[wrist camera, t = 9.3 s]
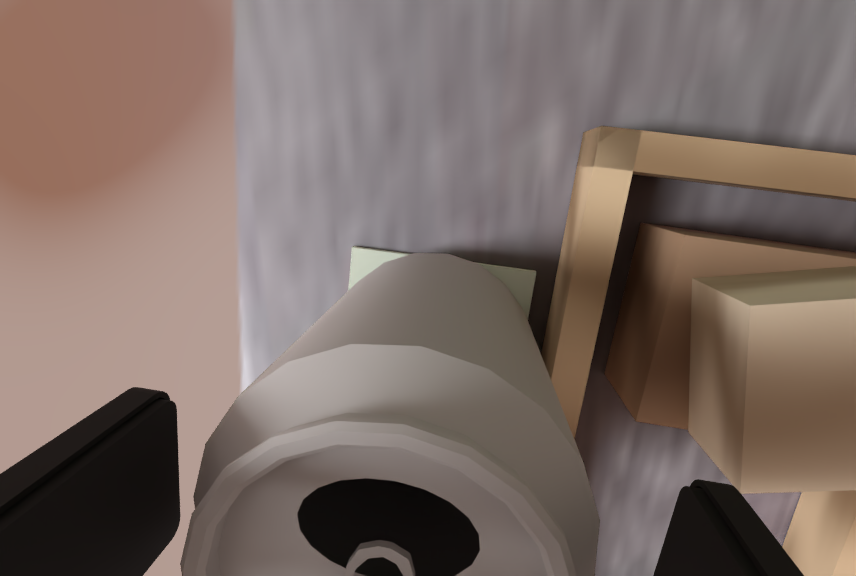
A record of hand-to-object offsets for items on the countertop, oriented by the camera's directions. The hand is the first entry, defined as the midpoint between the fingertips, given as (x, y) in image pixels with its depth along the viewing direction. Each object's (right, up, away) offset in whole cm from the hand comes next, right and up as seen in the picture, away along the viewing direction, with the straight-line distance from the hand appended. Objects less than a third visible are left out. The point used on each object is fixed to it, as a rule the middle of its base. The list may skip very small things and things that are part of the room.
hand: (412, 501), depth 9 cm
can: (+1, +2, +10) cm, 10 cm away
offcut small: (+11, +2, +5) cm, 13 cm away
